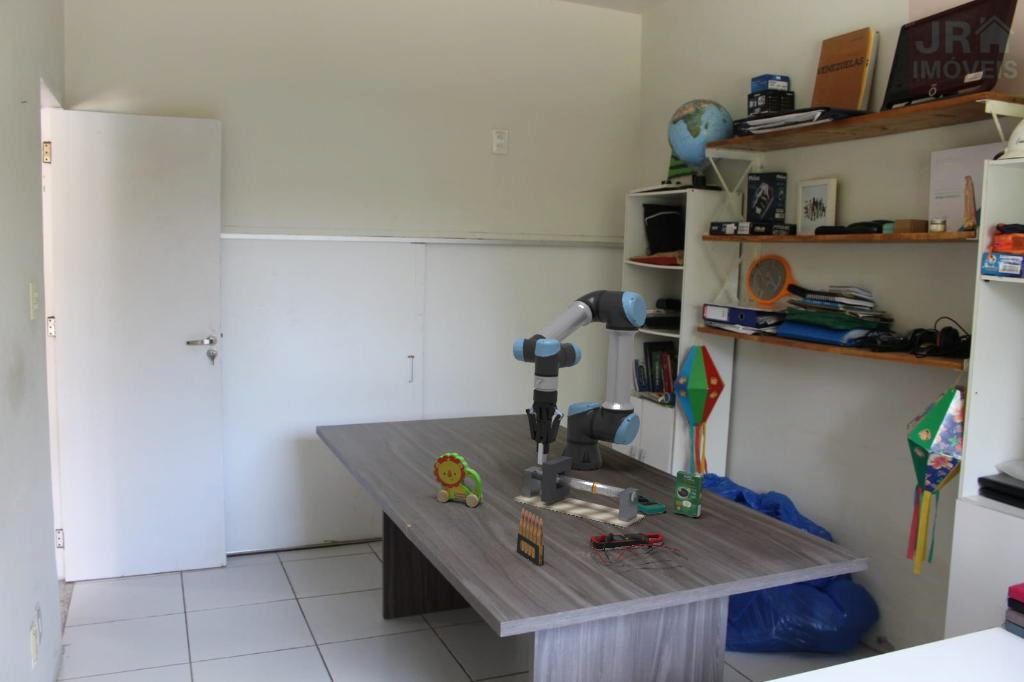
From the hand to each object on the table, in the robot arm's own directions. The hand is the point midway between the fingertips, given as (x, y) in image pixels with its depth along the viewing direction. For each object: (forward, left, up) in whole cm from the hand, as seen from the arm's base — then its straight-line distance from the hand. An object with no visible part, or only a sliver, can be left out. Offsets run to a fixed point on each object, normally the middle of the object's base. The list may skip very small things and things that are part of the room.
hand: (542, 463), depth 265 cm
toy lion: (+19, -18, -12) cm, 29 cm away
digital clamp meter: (+23, +44, -13) cm, 52 cm away
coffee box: (-18, +42, -12) cm, 47 cm away
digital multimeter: (-16, +28, -13) cm, 34 cm away
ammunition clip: (+43, +24, -12) cm, 51 cm away
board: (0, +14, -12) cm, 18 cm away
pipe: (0, +14, -12) cm, 18 cm away
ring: (0, +6, -10) cm, 11 cm away
